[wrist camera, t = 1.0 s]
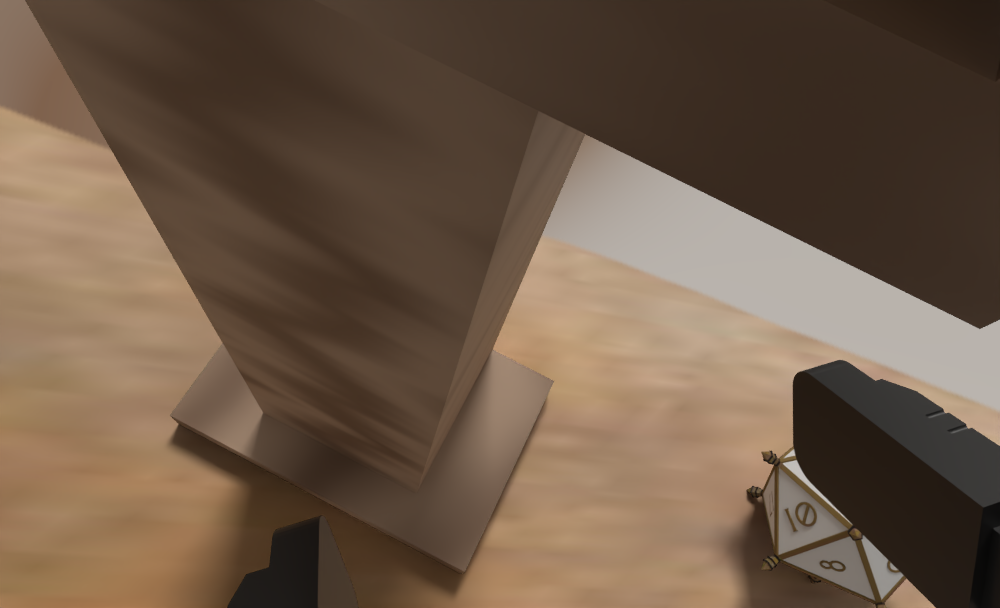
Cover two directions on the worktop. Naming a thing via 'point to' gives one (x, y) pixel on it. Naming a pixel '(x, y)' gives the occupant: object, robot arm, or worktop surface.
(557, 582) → the worktop surface
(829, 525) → the game die
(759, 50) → the stand
